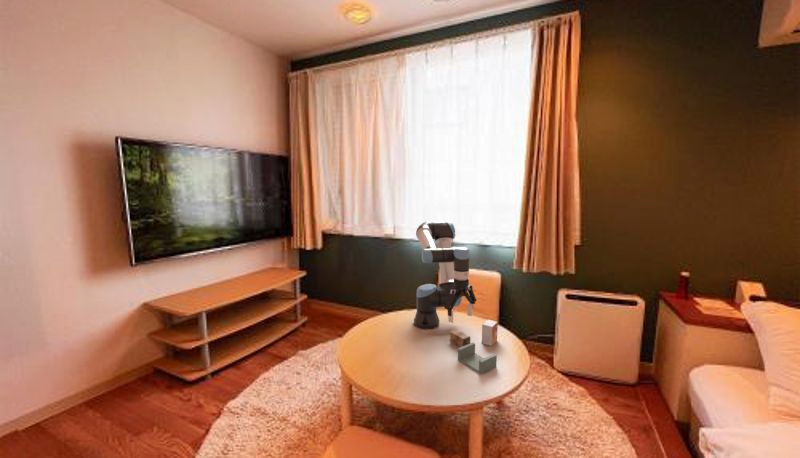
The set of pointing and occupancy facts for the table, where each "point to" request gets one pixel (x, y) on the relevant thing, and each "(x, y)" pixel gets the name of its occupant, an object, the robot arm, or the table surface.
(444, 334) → the table surface
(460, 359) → the bracket
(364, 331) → the table surface
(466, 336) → the rail end
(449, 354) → the table surface
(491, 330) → the small box
